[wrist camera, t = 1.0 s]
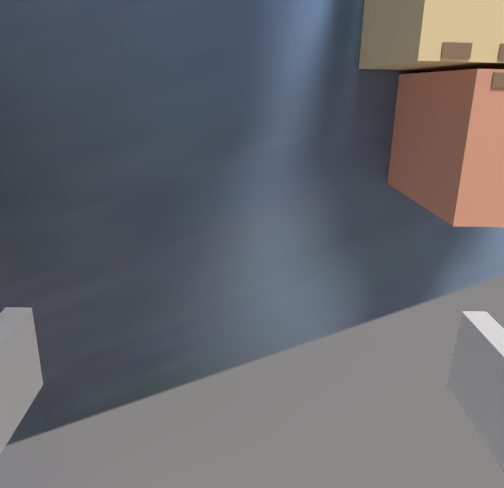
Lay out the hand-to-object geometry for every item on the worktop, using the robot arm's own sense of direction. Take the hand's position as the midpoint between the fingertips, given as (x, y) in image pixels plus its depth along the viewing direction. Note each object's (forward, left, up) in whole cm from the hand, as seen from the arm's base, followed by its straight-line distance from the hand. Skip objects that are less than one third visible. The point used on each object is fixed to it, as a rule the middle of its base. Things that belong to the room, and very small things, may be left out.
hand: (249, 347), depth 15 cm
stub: (-5, +14, -24) cm, 28 cm away
